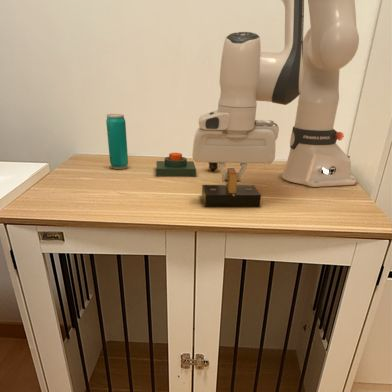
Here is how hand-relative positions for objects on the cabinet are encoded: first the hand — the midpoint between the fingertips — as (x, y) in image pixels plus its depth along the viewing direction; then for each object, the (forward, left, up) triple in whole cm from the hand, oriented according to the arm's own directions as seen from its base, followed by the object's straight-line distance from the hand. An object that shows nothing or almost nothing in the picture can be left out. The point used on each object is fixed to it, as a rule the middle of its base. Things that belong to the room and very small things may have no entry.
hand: (231, 181), depth 104 cm
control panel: (0, 0, -5) cm, 5 cm away
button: (+13, -30, -2) cm, 33 cm away
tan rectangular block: (0, 0, -2) cm, 2 cm away
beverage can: (+31, -35, -5) cm, 47 cm away
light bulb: (+1, -32, -5) cm, 32 cm away
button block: (+13, -30, -5) cm, 33 cm away
